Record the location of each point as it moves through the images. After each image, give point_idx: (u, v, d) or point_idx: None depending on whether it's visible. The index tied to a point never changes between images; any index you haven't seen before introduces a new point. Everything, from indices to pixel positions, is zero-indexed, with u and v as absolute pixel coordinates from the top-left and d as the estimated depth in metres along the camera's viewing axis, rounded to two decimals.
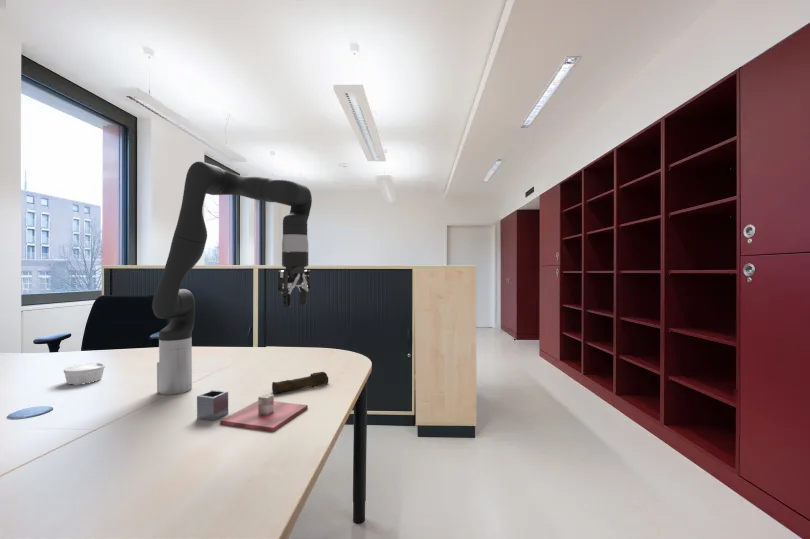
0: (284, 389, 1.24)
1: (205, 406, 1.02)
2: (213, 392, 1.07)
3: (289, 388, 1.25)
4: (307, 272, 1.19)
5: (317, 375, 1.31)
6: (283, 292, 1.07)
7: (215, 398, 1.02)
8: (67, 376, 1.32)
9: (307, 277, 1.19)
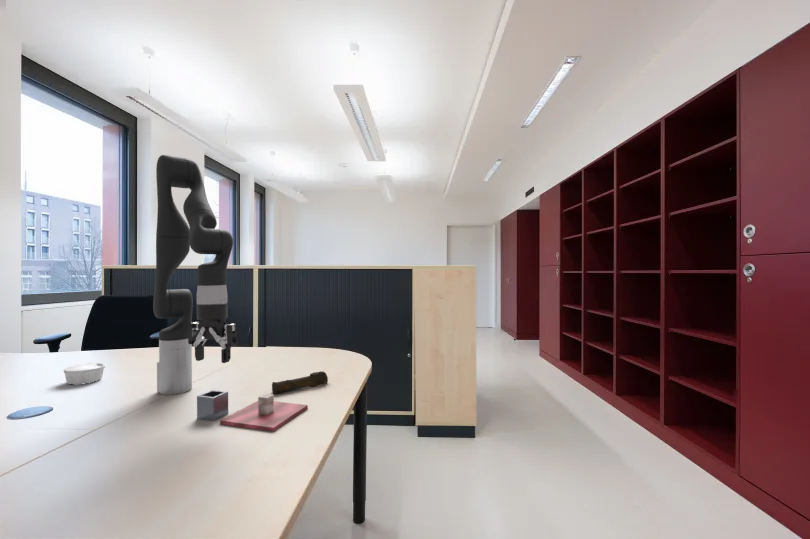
0: (284, 389, 1.24)
1: (205, 406, 1.02)
2: (213, 392, 1.07)
3: (289, 388, 1.25)
4: None
5: (317, 375, 1.31)
6: (232, 346, 1.03)
7: (215, 398, 1.02)
8: (67, 376, 1.32)
9: (197, 330, 1.07)
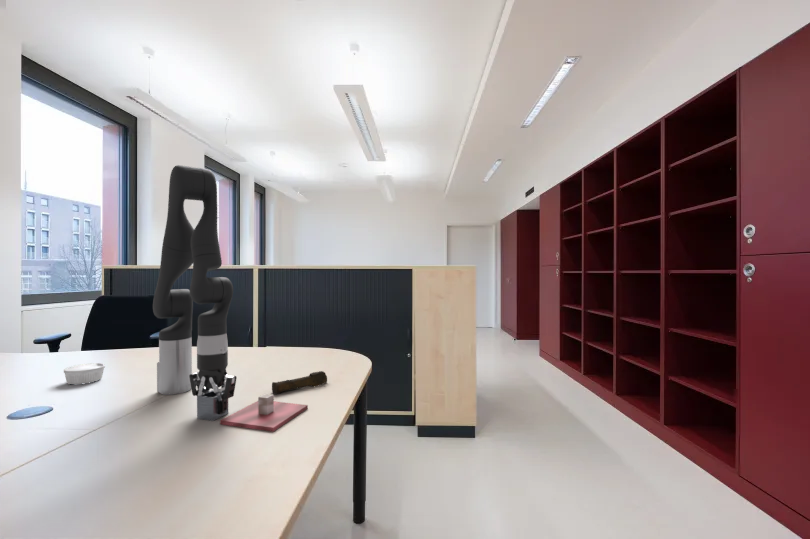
0: (285, 389, 1.24)
1: (205, 406, 1.02)
2: (213, 392, 1.07)
3: (289, 388, 1.25)
4: None
5: (316, 374, 1.31)
6: None
7: (215, 398, 1.02)
8: (67, 376, 1.32)
9: (199, 379, 1.07)
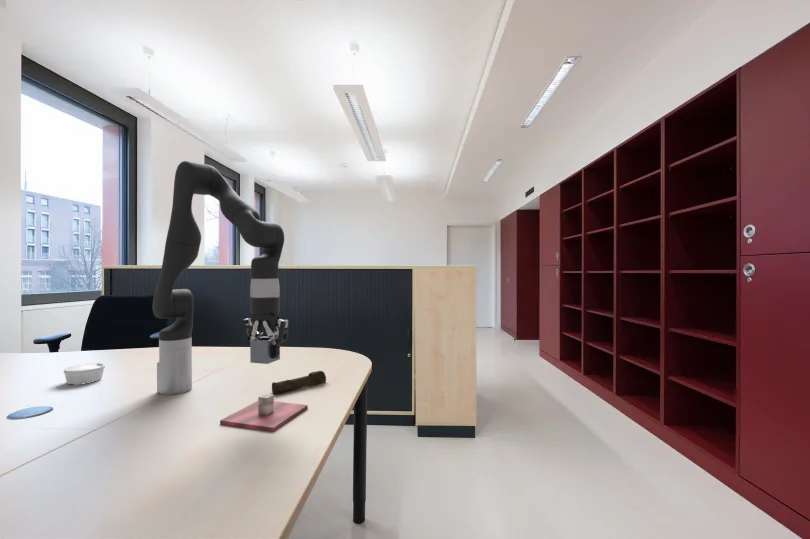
0: (285, 389, 1.24)
1: (259, 350, 1.02)
2: (264, 338, 1.07)
3: (289, 388, 1.25)
4: None
5: (316, 374, 1.32)
6: (281, 342, 1.03)
7: (269, 341, 1.02)
8: (67, 376, 1.32)
9: (250, 325, 1.07)
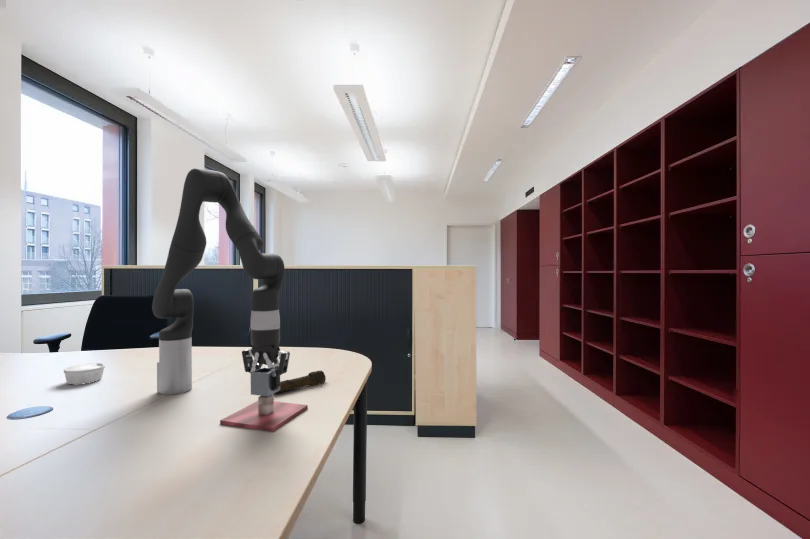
0: (285, 389, 1.24)
1: (259, 382, 1.02)
2: (265, 369, 1.07)
3: (289, 388, 1.25)
4: None
5: (315, 374, 1.32)
6: None
7: (269, 374, 1.02)
8: (67, 376, 1.32)
9: (251, 356, 1.07)
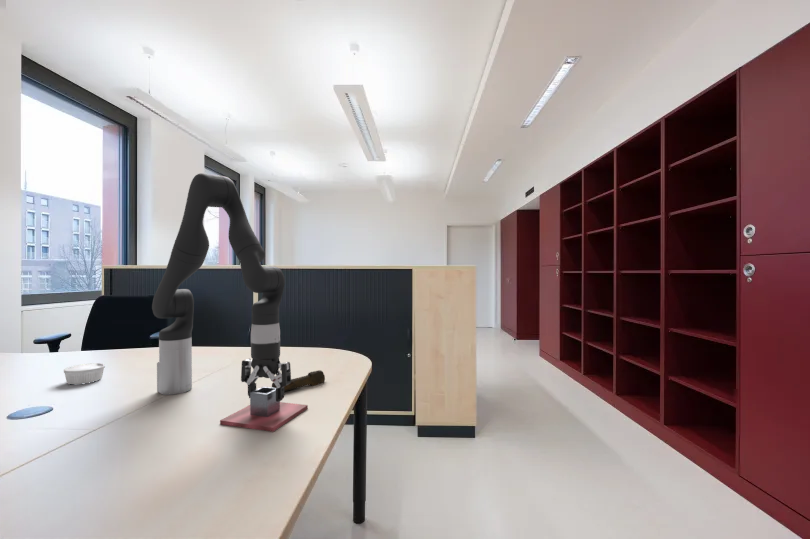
0: (285, 389, 1.24)
1: (259, 402, 1.02)
2: (264, 388, 1.07)
3: (289, 388, 1.25)
4: None
5: (315, 374, 1.32)
6: None
7: (269, 394, 1.02)
8: (67, 376, 1.32)
9: (249, 367, 1.07)
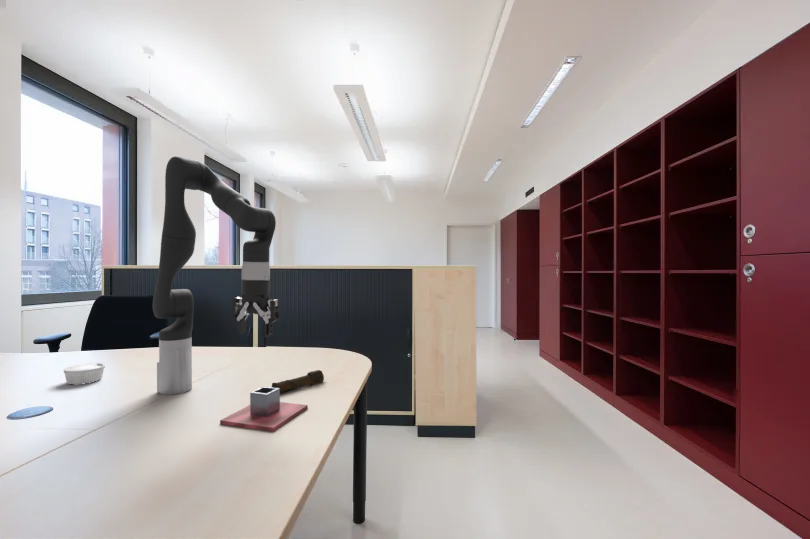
0: (285, 389, 1.24)
1: (259, 402, 1.02)
2: (264, 388, 1.07)
3: (290, 388, 1.25)
4: None
5: (314, 374, 1.33)
6: None
7: (269, 394, 1.02)
8: (67, 376, 1.32)
9: (240, 304, 1.11)
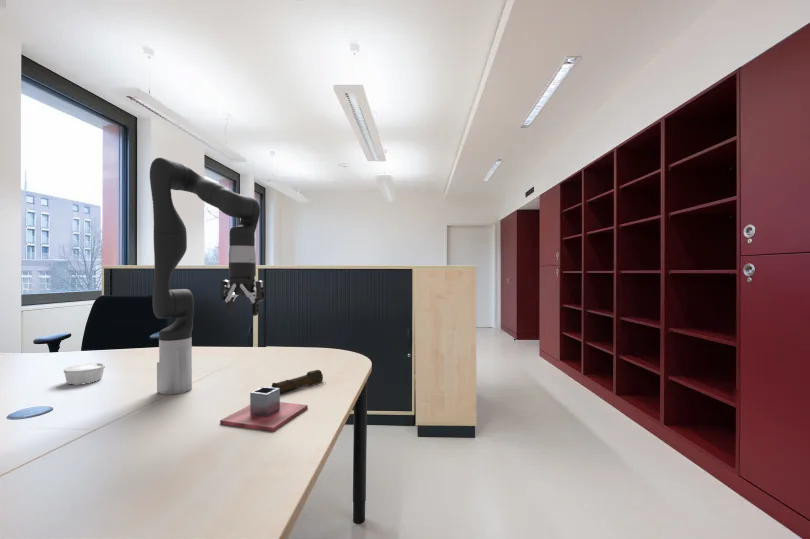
0: (286, 389, 1.24)
1: (259, 402, 1.02)
2: (264, 388, 1.07)
3: (290, 388, 1.25)
4: None
5: (314, 373, 1.33)
6: (260, 301, 1.15)
7: (269, 394, 1.02)
8: (67, 376, 1.32)
9: (228, 287, 1.19)
